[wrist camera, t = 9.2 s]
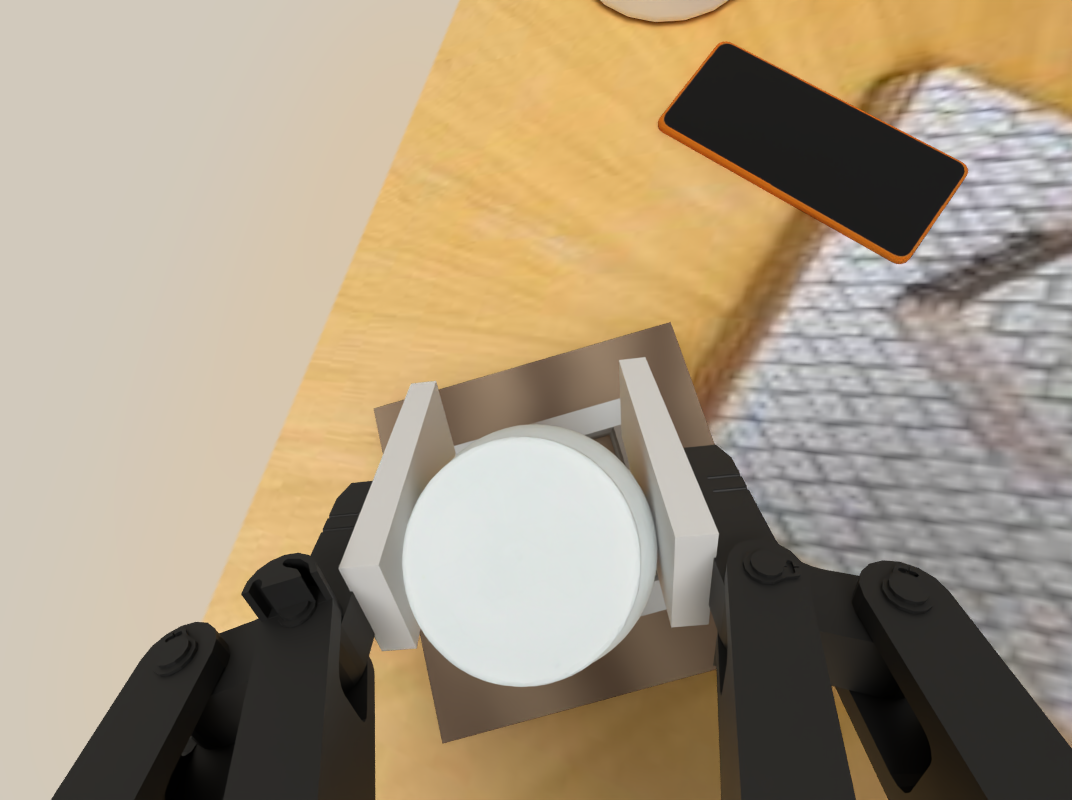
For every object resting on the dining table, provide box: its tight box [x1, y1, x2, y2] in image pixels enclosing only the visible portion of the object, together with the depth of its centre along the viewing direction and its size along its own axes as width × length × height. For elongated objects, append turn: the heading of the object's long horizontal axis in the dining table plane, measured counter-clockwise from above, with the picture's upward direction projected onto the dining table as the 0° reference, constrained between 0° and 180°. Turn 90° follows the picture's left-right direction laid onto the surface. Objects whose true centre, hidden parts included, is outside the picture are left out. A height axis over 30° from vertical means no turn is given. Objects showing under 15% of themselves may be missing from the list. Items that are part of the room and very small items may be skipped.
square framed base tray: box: [374, 322, 718, 743], centre depth 24 cm, size 17×17×4 cm
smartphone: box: [658, 42, 968, 264], centre depth 29 cm, size 8×17×1 cm, turn 53°
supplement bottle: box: [402, 424, 658, 687], centre depth 13 cm, size 5×5×10 cm
